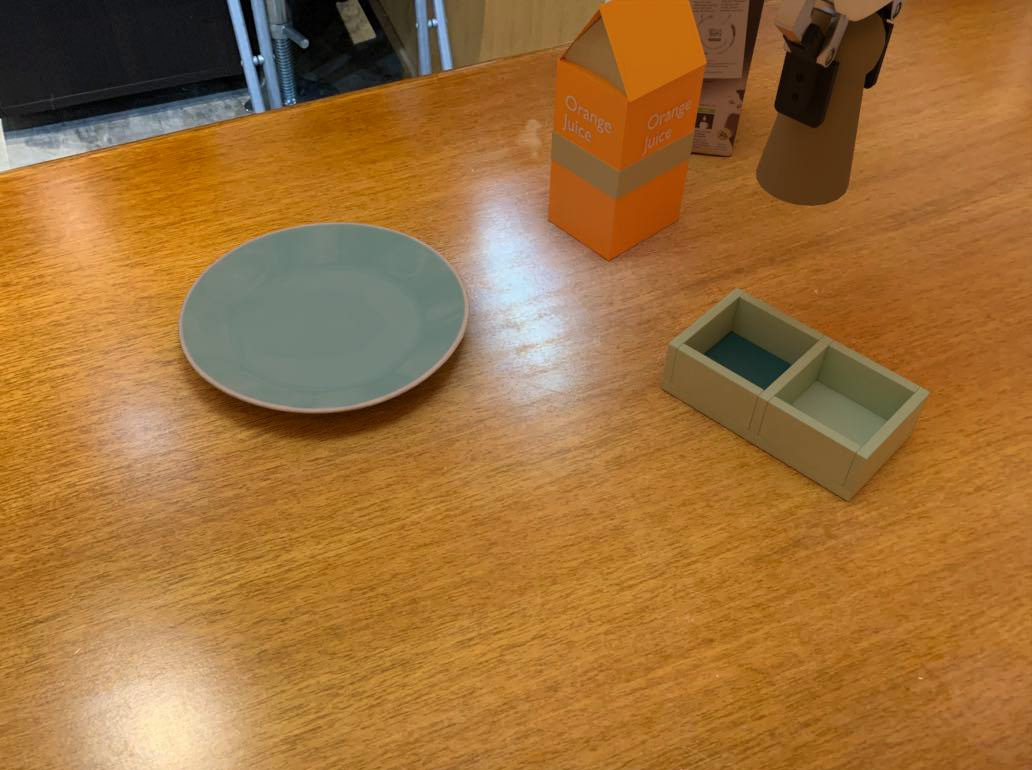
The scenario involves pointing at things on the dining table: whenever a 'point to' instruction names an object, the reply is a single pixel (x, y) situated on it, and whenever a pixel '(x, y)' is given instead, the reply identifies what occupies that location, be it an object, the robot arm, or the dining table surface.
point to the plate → (323, 317)
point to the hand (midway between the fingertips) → (825, 95)
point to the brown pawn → (824, 125)
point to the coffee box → (723, 69)
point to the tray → (793, 391)
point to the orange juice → (625, 123)
